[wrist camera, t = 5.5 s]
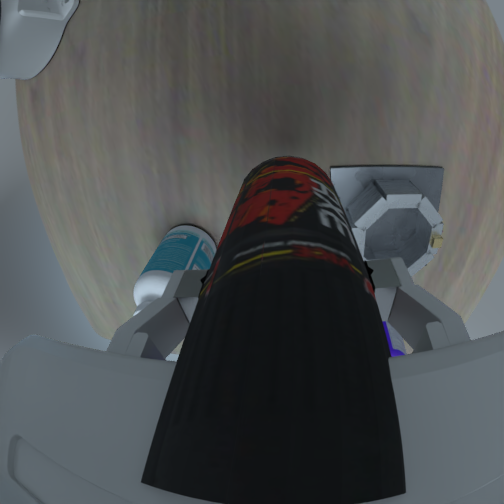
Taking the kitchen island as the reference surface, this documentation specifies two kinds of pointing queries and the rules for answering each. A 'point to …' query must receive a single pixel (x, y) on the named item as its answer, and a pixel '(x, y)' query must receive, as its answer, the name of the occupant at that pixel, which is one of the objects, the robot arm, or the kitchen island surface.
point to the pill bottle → (173, 262)
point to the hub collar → (392, 210)
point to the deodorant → (282, 360)
